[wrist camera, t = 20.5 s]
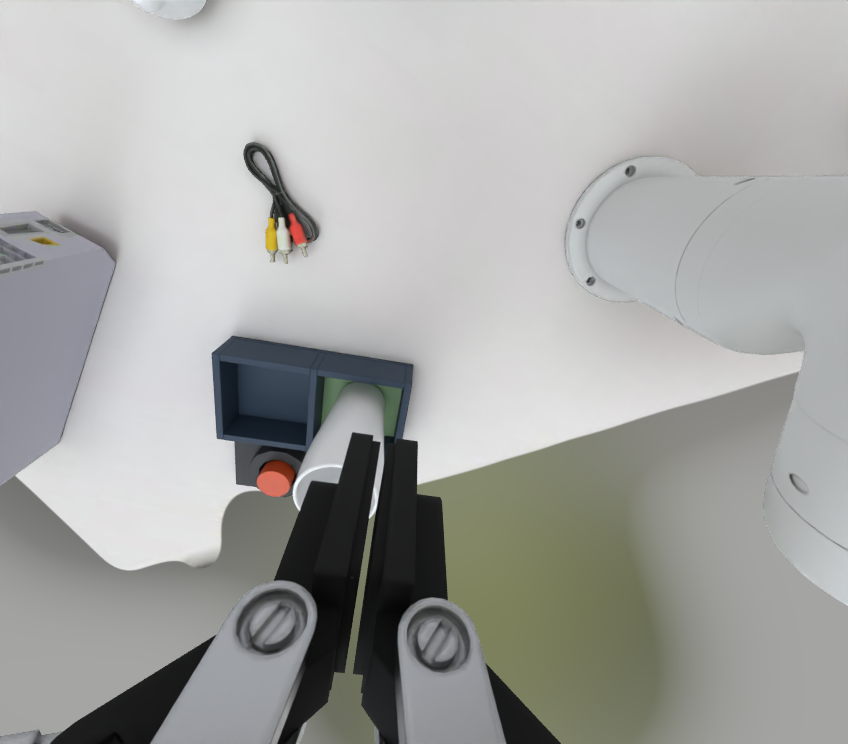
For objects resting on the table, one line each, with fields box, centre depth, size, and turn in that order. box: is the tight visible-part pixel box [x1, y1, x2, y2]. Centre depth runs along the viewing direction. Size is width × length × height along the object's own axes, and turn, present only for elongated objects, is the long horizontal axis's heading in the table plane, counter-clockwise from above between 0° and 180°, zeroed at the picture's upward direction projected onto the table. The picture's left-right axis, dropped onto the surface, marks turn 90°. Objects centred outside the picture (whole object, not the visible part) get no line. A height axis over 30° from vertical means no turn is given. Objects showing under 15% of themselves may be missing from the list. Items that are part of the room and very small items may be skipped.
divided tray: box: [212, 336, 413, 461], centre depth 42 cm, size 19×10×5 cm, turn 80°
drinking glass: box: [293, 382, 386, 518], centre depth 37 cm, size 7×7×15 cm
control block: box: [235, 441, 307, 497], centre depth 47 cm, size 11×8×4 cm
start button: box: [257, 460, 295, 497], centre depth 45 cm, size 4×4×2 cm
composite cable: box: [243, 142, 318, 264], centre depth 35 cm, size 10×5×2 cm, turn 9°
